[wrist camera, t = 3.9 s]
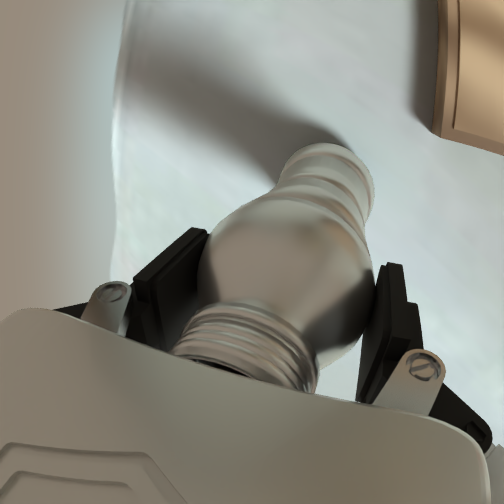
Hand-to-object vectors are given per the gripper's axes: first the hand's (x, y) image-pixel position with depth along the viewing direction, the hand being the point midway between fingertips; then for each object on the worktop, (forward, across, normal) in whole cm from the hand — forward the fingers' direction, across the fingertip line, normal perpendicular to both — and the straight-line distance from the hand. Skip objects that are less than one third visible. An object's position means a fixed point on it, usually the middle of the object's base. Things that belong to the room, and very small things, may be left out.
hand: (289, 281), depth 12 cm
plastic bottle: (+14, 0, 0) cm, 14 cm away
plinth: (+14, -14, -12) cm, 23 cm away
